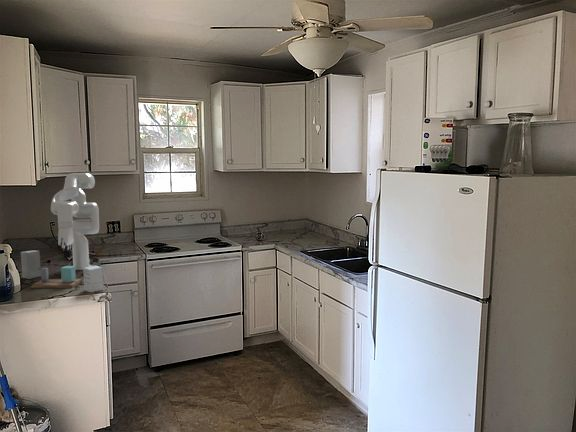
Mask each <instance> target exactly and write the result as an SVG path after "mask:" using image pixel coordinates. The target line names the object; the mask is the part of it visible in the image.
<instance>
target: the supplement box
mask: <svg viewBox="0 0 576 432" xmlns="http://www.w3.org/2000/svg"><path fill="white" fill-rule="evenodd" d="M82 271H83V283H84V285H83V286H84V289H83V290H84V291H85V292H87V293H88V292H89V293H90V294H91V293H96V292H99V291H103V290H104V275H103V272H104V271H103V267H102V266H98V265H92V266H90V267H85V268H83V270H82ZM95 291H96V292H95Z"/></svg>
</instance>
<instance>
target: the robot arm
mask: <svg viewBox="0 0 576 432" xmlns="http://www.w3.org/2000/svg"><path fill="white" fill-rule="evenodd" d="M95 184H96V180H95V176H94V175H92V174H91V173H88V172H87V173H86V172H77V173H76V172H73V173H69V174H66V177H65V179H64V185H63V189H60V190H59V191H58V192H56V193H55V194H54V196H53V197H52V199H51V202H50V203H51V204H50V212H51V213H52V214H53V215H56V216H57V225H58V226H57V228H58V232H57V244H58V246H59V247H61V249H62V250H63V258H71V257H72V264H73V265H72V266H75V271H83V268H85V267H90V266H93V265H92V264H90V261H91V260H90V255H89V254H90V253H89V250H90V249H89V239H87V237H86V236H85V235H95V234H96V235H97V234H98V233H99V231H100V209H99V206H98V204H97V203H96V202H87V199H86V198H87V195H86V193H85V192H84V190H83V189H86V190H87V189H93V188H94V187H95V186H96V185H95ZM70 200H71V201H70ZM73 217H74V218H86V219H74V218H73ZM87 218H90V219H87ZM73 219H74V220H73ZM71 249H72V253H71Z"/></svg>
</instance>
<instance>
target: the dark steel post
mask: <svg viewBox="0 0 576 432" xmlns="http://www.w3.org/2000/svg"><path fill="white" fill-rule="evenodd" d="M49 276H50V275H49V267H41V276H40V278H41V279H40V280H41V281H42V283H47V282H49V279H50V277H49Z"/></svg>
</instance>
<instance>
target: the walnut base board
mask: <svg viewBox="0 0 576 432" xmlns="http://www.w3.org/2000/svg"><path fill="white" fill-rule="evenodd" d="M82 281H83V280H82V278H76V279H75V280H73V281H72V282H71V283H65V282H62V280H61V278H49V282H47V283H42V281H41V279H40V280H39V281H37V282H35V283H33V284H31V286H30V288H31V289H72V288H74V287H76V286H77V285H79V284H80V283H81V282H82Z"/></svg>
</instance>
